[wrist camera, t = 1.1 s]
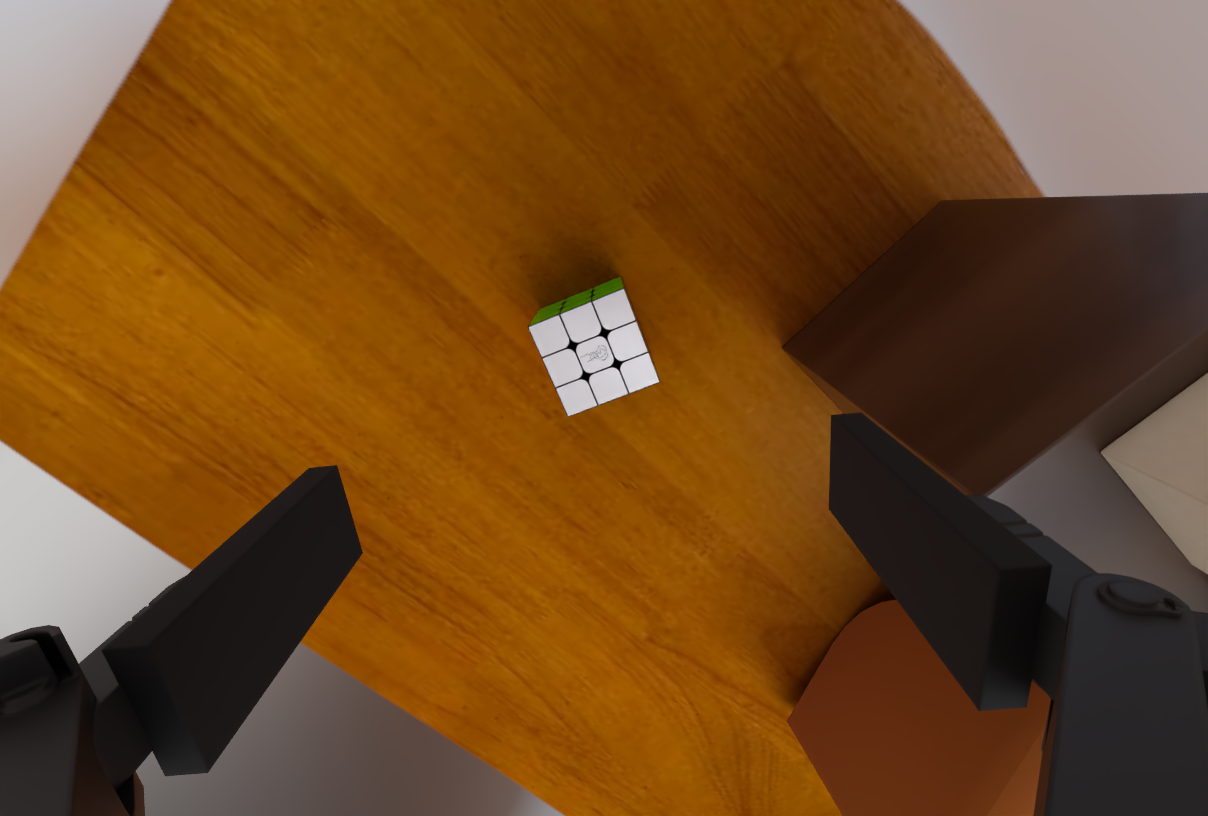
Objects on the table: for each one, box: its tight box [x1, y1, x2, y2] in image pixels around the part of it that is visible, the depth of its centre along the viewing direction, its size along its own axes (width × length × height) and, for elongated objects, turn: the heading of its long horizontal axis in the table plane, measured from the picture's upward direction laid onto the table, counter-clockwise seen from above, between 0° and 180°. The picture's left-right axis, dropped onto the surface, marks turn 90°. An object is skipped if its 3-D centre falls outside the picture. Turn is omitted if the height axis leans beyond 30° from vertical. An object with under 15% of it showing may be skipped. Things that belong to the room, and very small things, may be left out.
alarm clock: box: [787, 600, 1051, 816], centre depth 32 cm, size 15×8×14 cm
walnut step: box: [782, 193, 1208, 613], centre depth 26 cm, size 28×11×18 cm, turn 46°
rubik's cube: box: [528, 276, 660, 417], centre depth 30 cm, size 5×5×5 cm
